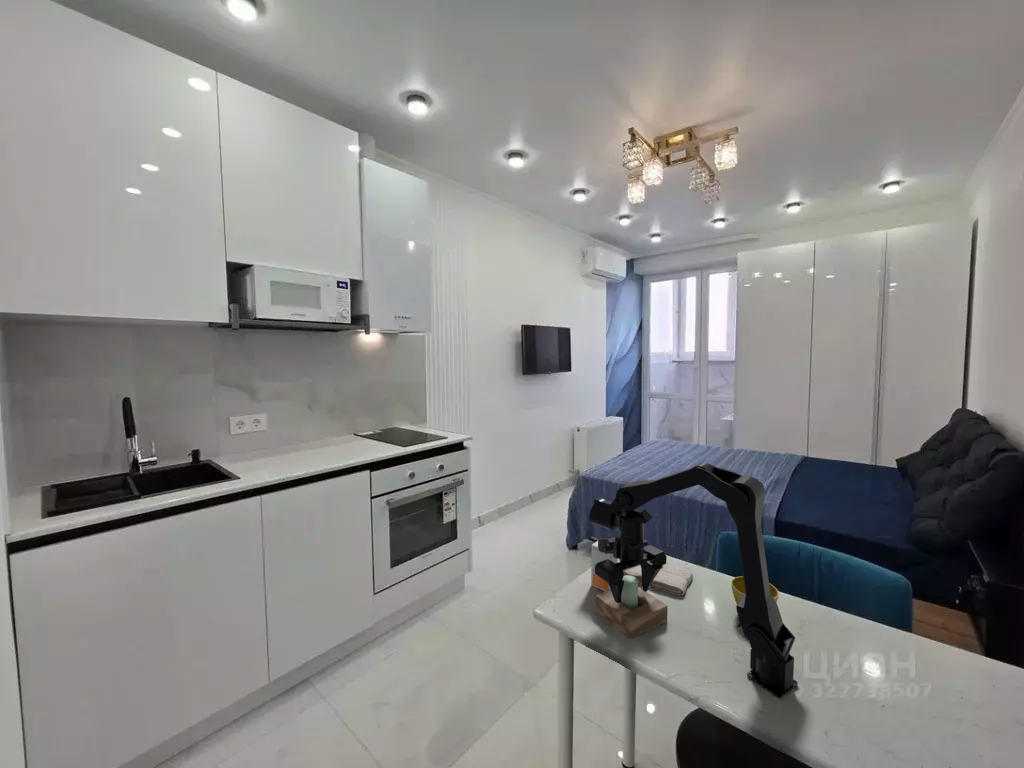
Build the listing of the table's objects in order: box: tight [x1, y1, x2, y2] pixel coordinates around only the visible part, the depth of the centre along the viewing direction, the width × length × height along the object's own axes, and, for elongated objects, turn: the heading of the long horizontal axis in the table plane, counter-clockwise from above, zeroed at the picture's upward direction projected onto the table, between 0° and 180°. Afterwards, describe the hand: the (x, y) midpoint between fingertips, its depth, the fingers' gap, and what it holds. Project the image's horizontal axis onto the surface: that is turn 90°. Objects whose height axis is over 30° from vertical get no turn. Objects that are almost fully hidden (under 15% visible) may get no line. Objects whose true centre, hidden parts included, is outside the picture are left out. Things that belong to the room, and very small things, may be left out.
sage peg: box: [621, 575, 639, 610], centre depth 105 cm, size 4×4×8 cm
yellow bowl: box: [730, 575, 780, 605], centre depth 104 cm, size 10×10×7 cm
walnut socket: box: [595, 586, 669, 639], centre depth 105 cm, size 12×12×4 cm
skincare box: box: [590, 540, 618, 592], centre depth 117 cm, size 6×4×12 cm
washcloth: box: [623, 563, 694, 597], centre depth 122 cm, size 12×18×3 cm, turn 55°
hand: (631, 596), depth 104 cm, fingers open, 9 cm apart
